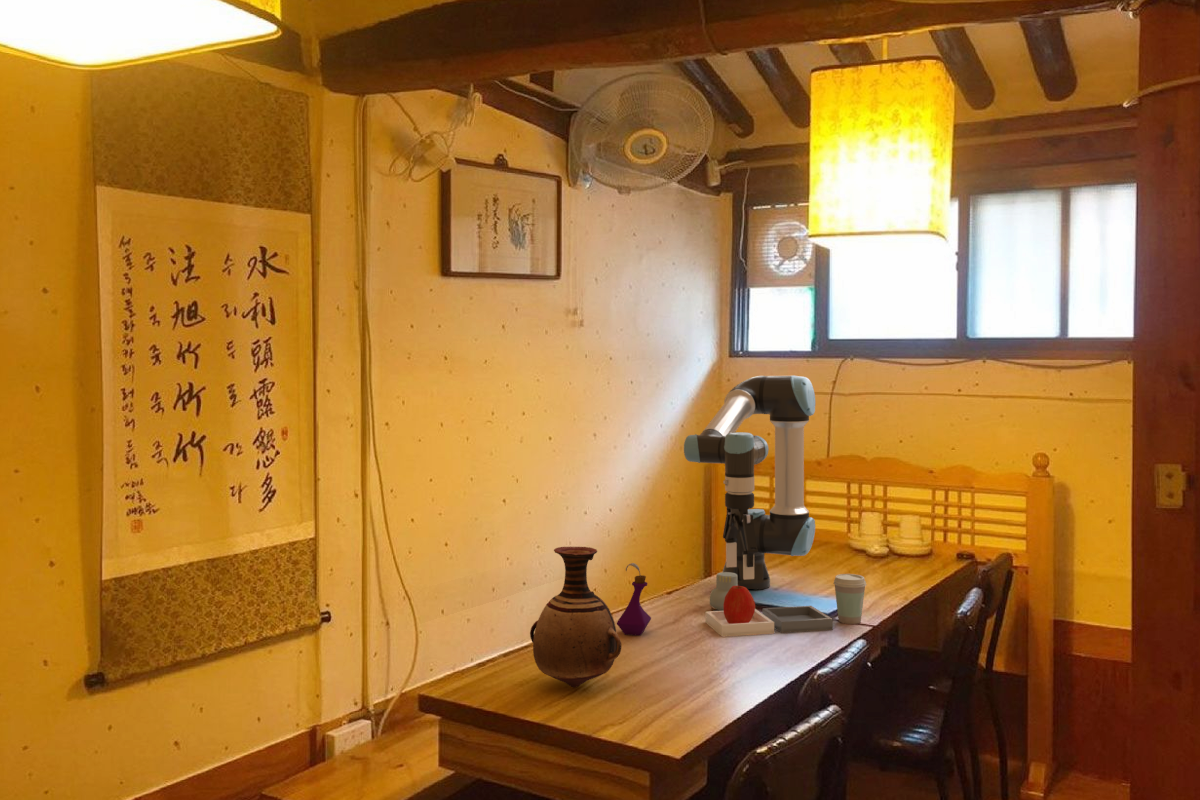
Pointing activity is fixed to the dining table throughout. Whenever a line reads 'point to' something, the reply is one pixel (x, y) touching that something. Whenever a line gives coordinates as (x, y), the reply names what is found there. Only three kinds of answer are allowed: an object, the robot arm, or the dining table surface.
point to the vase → (575, 627)
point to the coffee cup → (849, 597)
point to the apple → (738, 605)
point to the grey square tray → (798, 619)
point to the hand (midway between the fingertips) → (739, 572)
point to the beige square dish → (739, 624)
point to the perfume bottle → (635, 609)
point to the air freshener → (722, 589)
